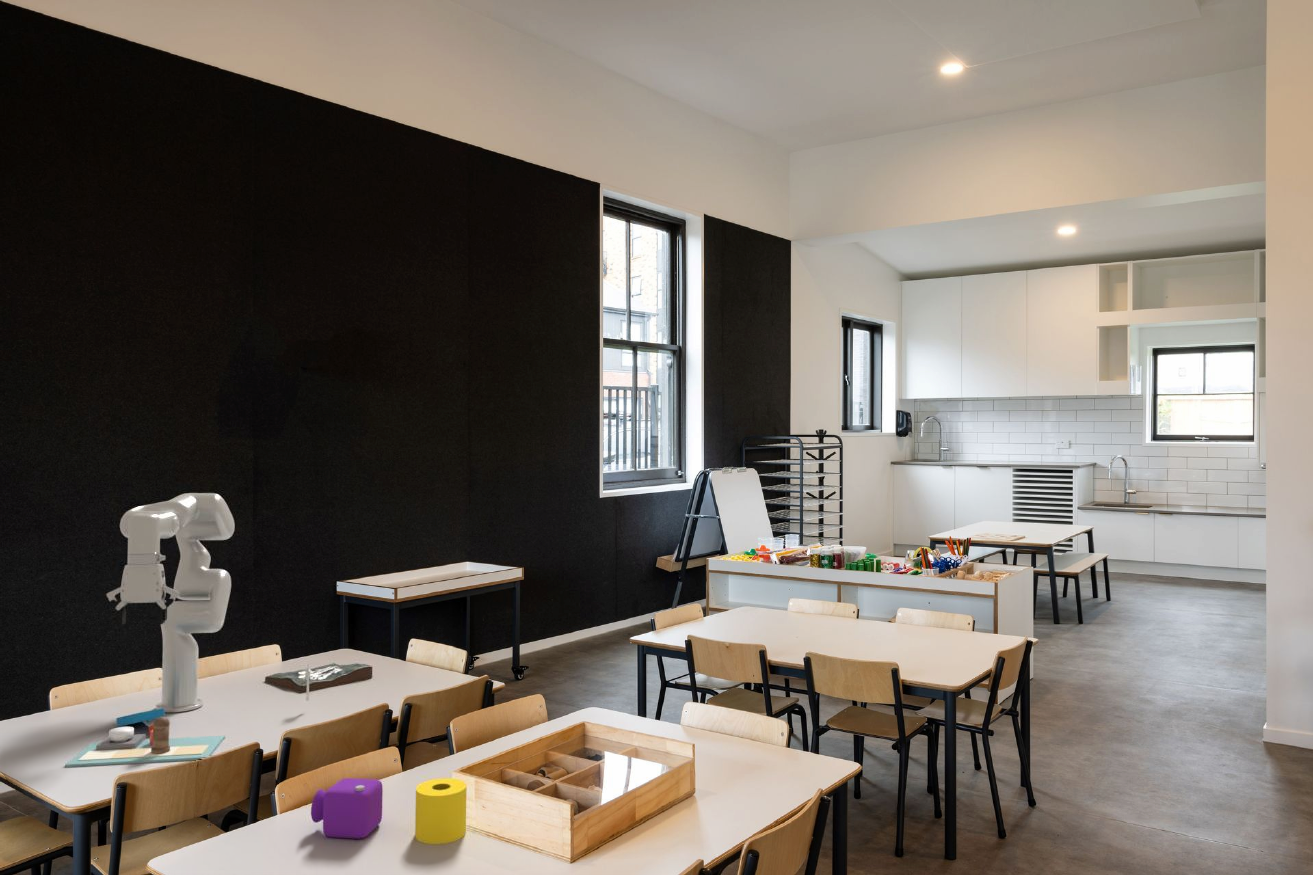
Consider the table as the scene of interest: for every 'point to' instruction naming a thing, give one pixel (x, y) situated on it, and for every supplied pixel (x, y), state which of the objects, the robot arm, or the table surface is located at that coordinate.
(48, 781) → the table surface
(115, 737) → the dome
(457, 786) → the yellow toilet paper roll
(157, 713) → the lever
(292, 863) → the table surface
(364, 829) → the toy camera
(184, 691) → the robot arm
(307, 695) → the relief map
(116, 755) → the board
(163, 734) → the pawn
